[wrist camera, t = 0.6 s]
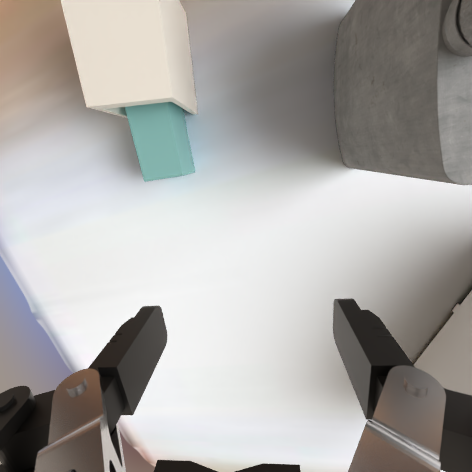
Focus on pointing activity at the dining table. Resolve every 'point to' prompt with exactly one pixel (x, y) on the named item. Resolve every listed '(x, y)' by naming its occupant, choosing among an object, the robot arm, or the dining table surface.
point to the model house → (452, 351)
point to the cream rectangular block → (131, 53)
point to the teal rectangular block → (160, 140)
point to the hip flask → (406, 88)
